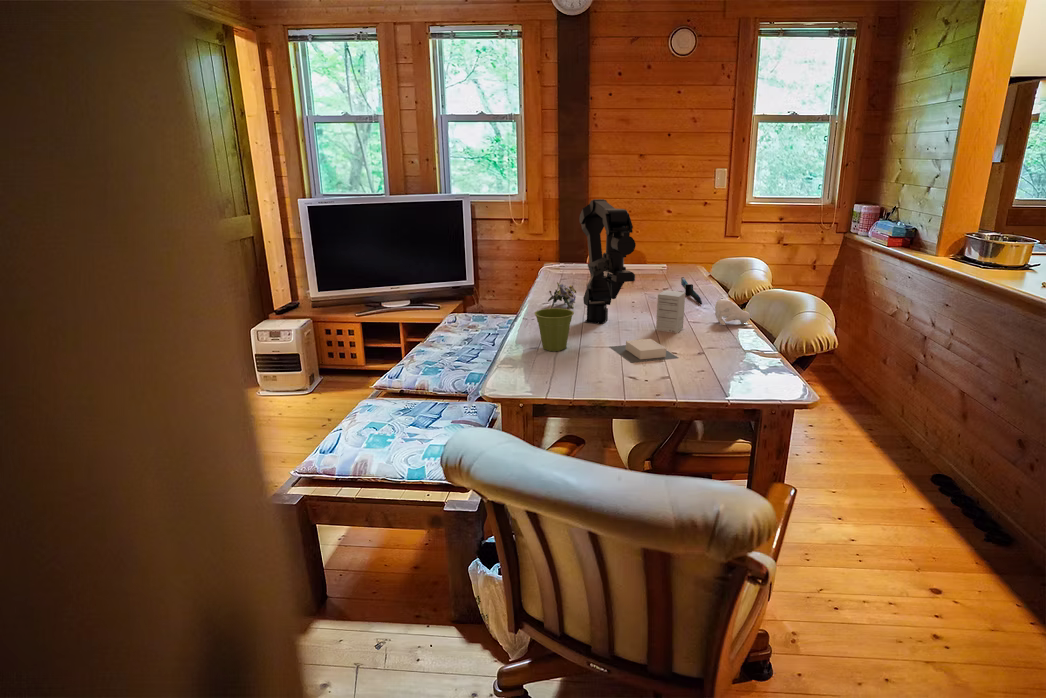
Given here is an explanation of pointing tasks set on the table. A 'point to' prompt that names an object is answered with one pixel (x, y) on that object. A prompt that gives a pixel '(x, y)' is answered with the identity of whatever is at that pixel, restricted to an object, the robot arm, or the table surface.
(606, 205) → the robot arm
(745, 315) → the white animal figurine
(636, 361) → the mat
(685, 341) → the table surface
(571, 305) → the passion flower
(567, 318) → the plant pot
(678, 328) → the supplement box
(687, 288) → the knife
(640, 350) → the white and orange box
